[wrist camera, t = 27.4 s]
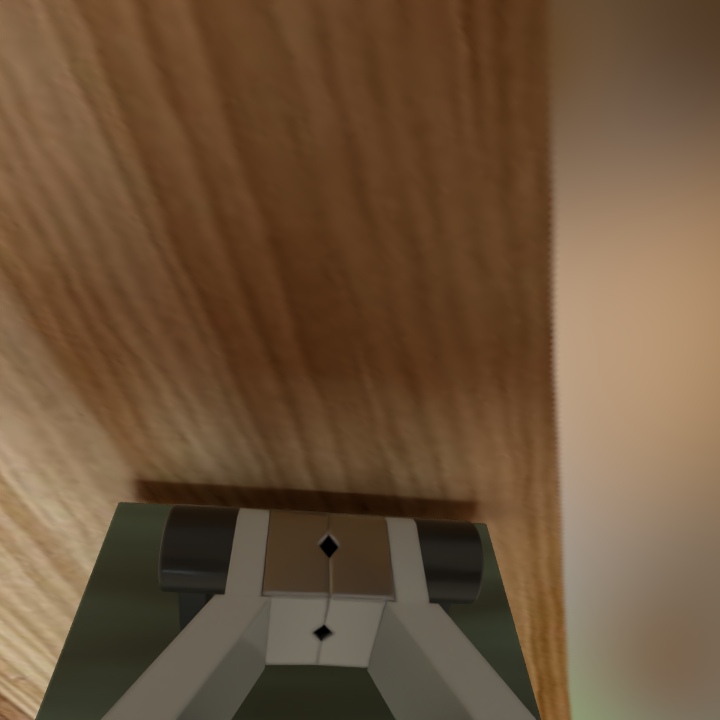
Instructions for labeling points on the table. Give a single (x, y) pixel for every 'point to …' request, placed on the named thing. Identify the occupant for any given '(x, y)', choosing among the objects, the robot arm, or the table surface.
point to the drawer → (209, 577)
